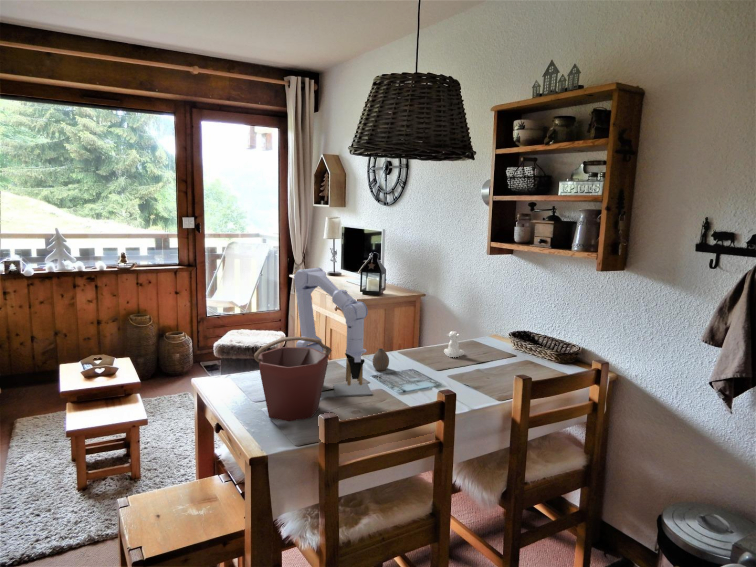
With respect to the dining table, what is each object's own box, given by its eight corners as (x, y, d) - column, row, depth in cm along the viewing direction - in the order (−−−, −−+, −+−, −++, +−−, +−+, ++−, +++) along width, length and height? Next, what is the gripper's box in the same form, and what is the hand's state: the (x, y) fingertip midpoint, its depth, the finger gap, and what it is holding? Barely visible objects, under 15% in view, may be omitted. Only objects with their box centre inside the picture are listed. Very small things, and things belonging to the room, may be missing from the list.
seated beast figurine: (464, 354, 237) (466, 329, 235) (463, 359, 228) (464, 333, 227) (444, 352, 239) (445, 327, 237) (442, 357, 231) (443, 332, 229)
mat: (336, 396, 181) (336, 395, 181) (333, 385, 192) (333, 384, 192) (372, 395, 184) (372, 393, 184) (367, 384, 194) (367, 382, 194)
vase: (387, 373, 208) (387, 352, 207) (370, 371, 209) (371, 350, 208) (390, 367, 215) (390, 347, 213) (374, 366, 216) (374, 346, 215)
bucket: (331, 398, 180) (333, 329, 176) (327, 426, 158) (329, 348, 154) (261, 397, 179) (261, 328, 175) (248, 425, 157) (247, 346, 153)
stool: (347, 385, 174) (348, 362, 172) (345, 380, 178) (346, 358, 177) (362, 385, 174) (362, 362, 173) (360, 380, 179) (360, 358, 178)
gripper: (370, 343, 168) (369, 382, 170) (363, 332, 182) (362, 368, 184) (349, 343, 166) (348, 383, 168) (343, 332, 180) (342, 369, 183)
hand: (354, 375), depth 176 cm, fingers closed on stool, 5 cm apart
